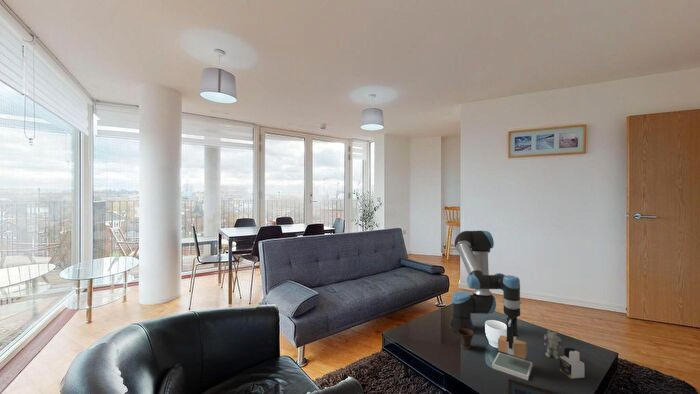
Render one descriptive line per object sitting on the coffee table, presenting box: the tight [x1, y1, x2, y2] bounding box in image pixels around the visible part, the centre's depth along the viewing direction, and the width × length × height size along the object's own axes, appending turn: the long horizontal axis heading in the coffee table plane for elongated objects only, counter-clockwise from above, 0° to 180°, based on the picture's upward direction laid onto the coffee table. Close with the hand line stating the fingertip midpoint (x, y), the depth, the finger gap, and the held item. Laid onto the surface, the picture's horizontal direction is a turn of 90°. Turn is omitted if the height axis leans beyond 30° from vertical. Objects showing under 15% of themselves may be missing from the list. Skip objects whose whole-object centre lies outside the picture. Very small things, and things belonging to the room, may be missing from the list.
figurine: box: [543, 329, 562, 360], centre depth 158 cm, size 8×8×15 cm
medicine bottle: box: [559, 347, 585, 379], centre depth 144 cm, size 7×7×12 cm
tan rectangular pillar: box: [497, 334, 528, 360], centre depth 149 cm, size 12×6×6 cm, turn 49°
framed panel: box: [491, 351, 534, 381], centre depth 150 cm, size 16×14×2 cm
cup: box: [457, 328, 475, 350], centre depth 170 cm, size 9×9×10 cm
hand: (512, 351), depth 149 cm, fingers closed on tan rectangular pillar, 6 cm apart
